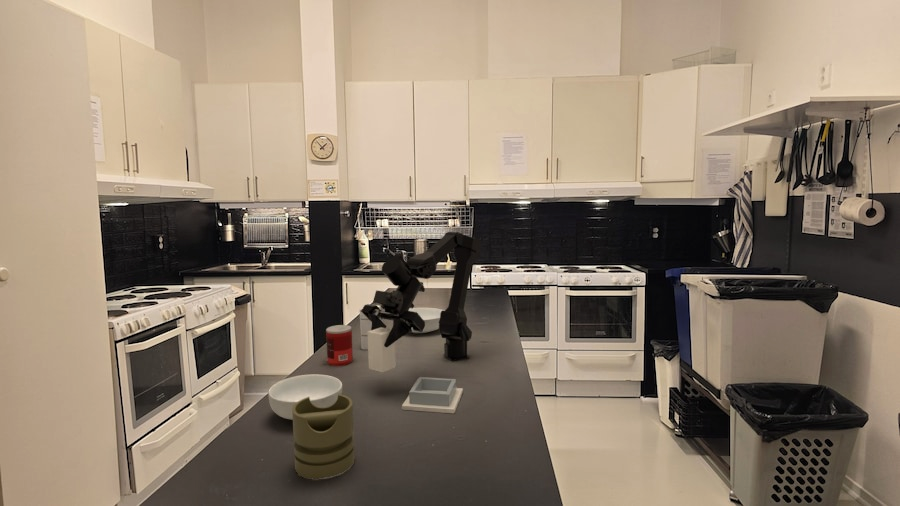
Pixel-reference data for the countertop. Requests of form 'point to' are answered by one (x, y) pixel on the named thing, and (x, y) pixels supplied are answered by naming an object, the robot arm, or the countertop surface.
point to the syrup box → (365, 329)
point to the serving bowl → (428, 318)
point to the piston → (323, 437)
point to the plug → (380, 350)
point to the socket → (433, 395)
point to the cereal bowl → (303, 392)
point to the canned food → (339, 345)
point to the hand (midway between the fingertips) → (377, 344)
